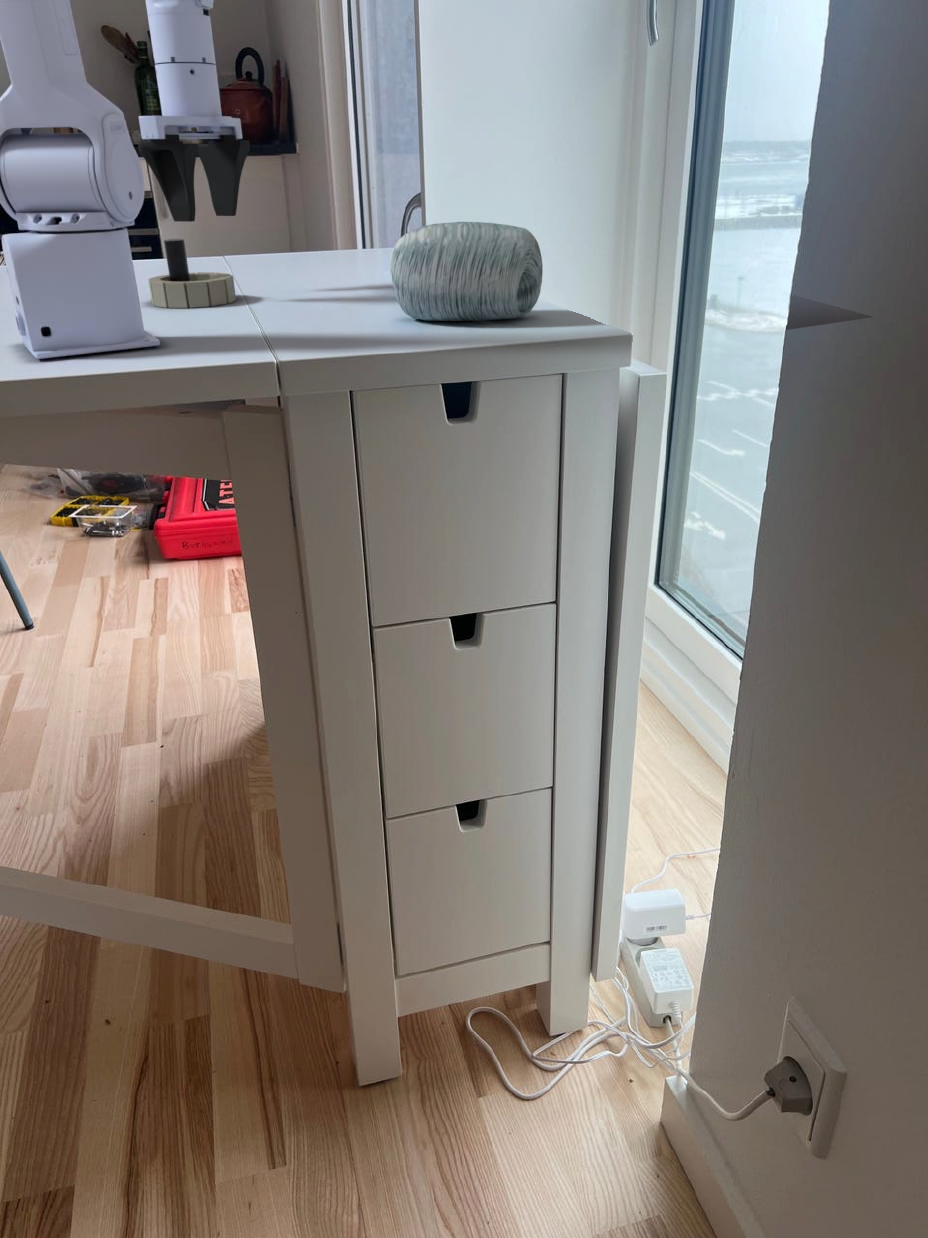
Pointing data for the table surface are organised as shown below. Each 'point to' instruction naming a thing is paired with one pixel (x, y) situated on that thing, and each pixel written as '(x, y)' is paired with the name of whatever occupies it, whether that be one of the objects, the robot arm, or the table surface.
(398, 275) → the spool
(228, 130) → the robot arm
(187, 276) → the post
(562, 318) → the table surface
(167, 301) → the tape roll
